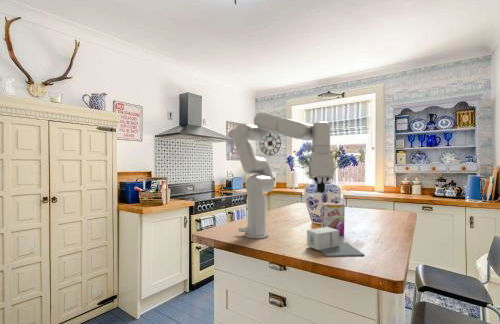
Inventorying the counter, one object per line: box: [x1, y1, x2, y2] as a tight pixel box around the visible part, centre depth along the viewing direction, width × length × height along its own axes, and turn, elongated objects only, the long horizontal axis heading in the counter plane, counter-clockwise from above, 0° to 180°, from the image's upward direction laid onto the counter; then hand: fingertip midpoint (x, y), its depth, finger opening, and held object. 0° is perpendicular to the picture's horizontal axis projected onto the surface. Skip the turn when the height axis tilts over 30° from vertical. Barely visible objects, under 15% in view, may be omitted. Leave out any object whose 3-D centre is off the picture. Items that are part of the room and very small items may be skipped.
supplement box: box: [306, 227, 340, 251], centre depth 116 cm, size 7×7×13 cm
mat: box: [318, 242, 365, 258], centre depth 112 cm, size 16×16×1 cm
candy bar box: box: [321, 202, 346, 237], centre depth 138 cm, size 11×5×16 cm, turn 84°
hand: (320, 192), depth 112 cm, fingers closed
